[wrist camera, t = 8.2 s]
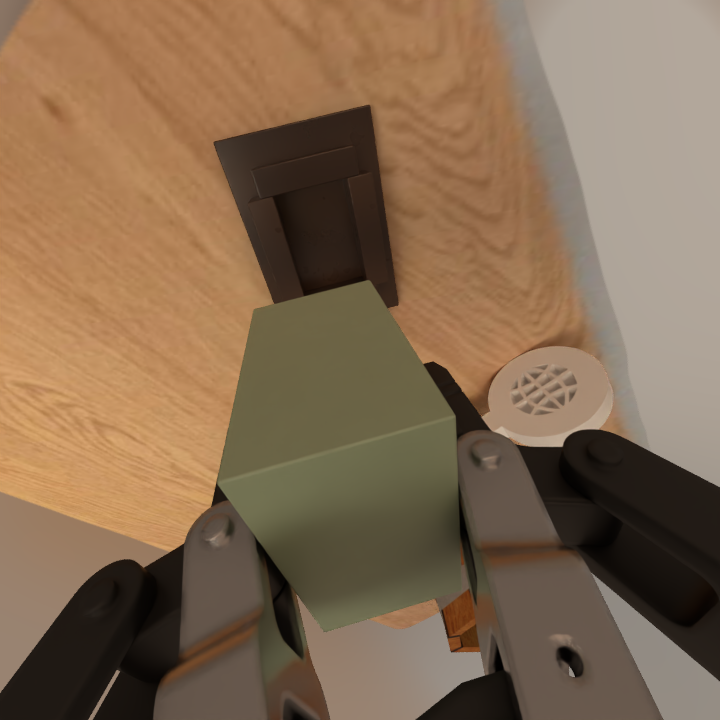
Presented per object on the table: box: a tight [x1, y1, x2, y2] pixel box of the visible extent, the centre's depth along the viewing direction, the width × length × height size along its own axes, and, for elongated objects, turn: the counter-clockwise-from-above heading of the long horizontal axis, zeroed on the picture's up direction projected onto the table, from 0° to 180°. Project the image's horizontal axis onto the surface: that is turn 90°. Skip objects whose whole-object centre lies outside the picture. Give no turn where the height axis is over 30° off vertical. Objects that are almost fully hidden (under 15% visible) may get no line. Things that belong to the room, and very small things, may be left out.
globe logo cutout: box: [482, 346, 613, 447], centre depth 33 cm, size 22×2×10 cm, turn 128°
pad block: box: [217, 280, 462, 632], centre depth 9 cm, size 6×4×6 cm, turn 11°
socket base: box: [214, 105, 398, 308], centre depth 24 cm, size 14×10×4 cm
